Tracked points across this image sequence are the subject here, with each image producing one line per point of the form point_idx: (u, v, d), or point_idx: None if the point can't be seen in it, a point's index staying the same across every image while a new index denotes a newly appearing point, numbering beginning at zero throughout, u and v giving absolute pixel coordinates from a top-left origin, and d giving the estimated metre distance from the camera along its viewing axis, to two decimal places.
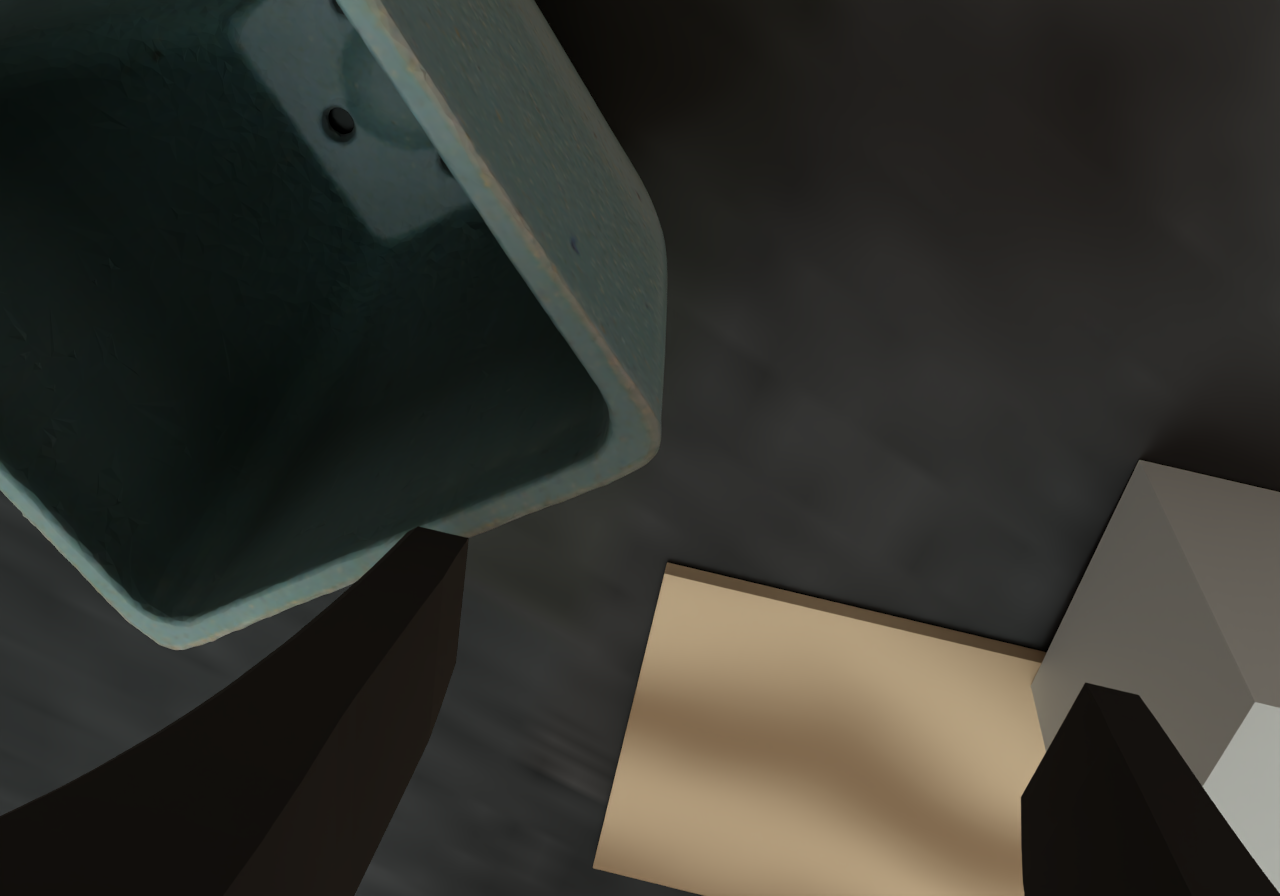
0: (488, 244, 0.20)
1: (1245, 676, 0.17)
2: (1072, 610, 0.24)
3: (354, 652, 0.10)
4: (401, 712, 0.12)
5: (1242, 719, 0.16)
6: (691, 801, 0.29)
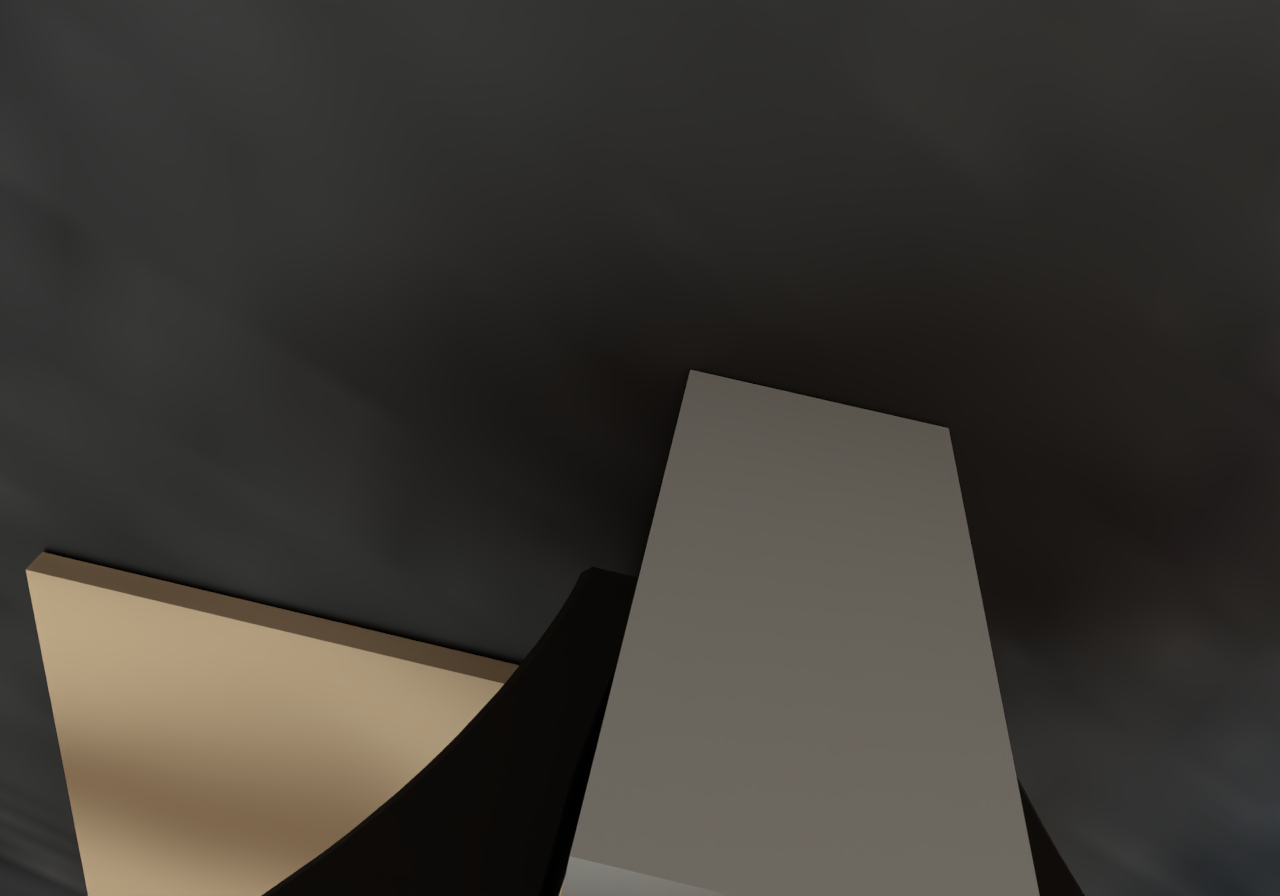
0: None
1: (592, 788, 0.07)
2: None
3: (568, 703, 0.10)
4: (593, 758, 0.12)
5: (562, 892, 0.07)
6: None
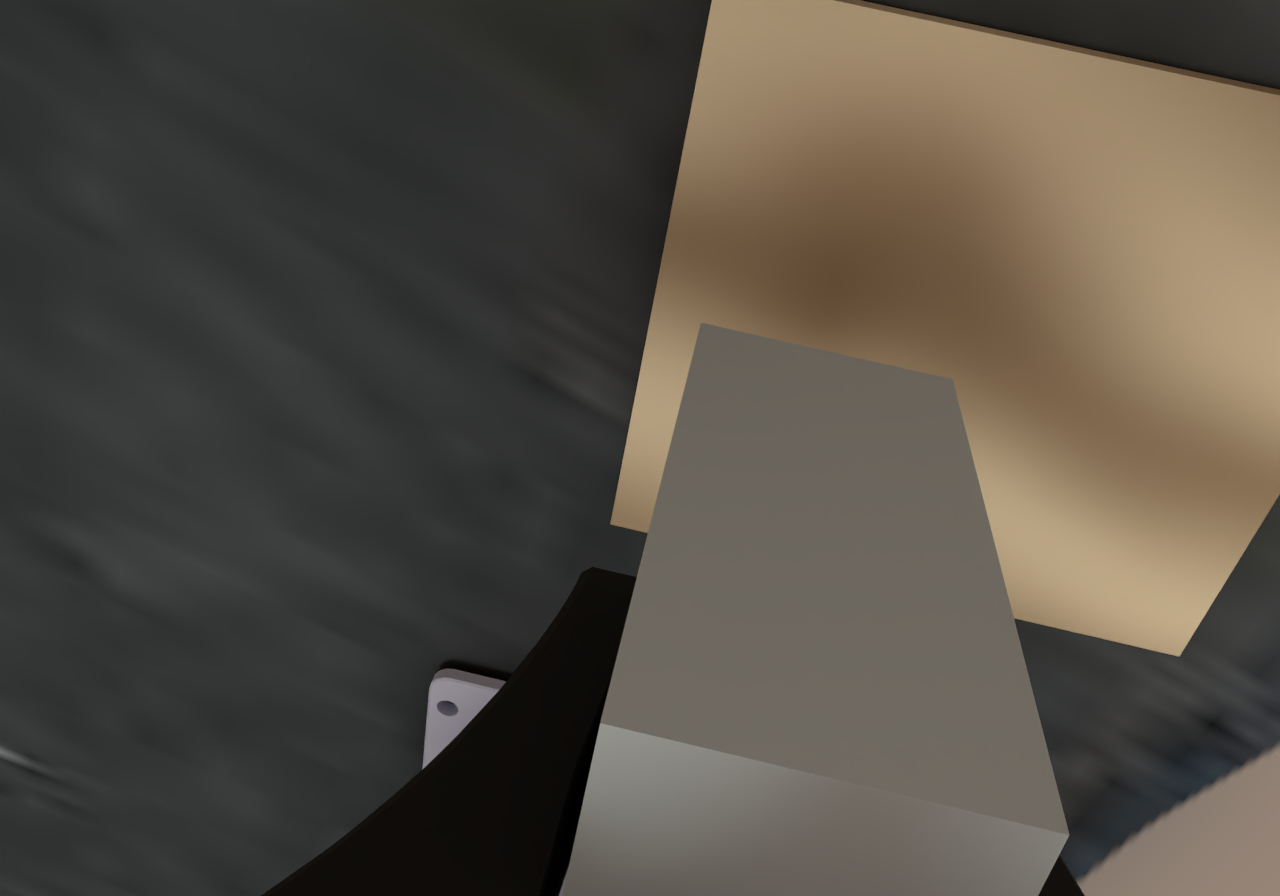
0: None
1: (620, 668, 0.08)
2: None
3: (568, 703, 0.10)
4: None
5: (592, 763, 0.07)
6: None
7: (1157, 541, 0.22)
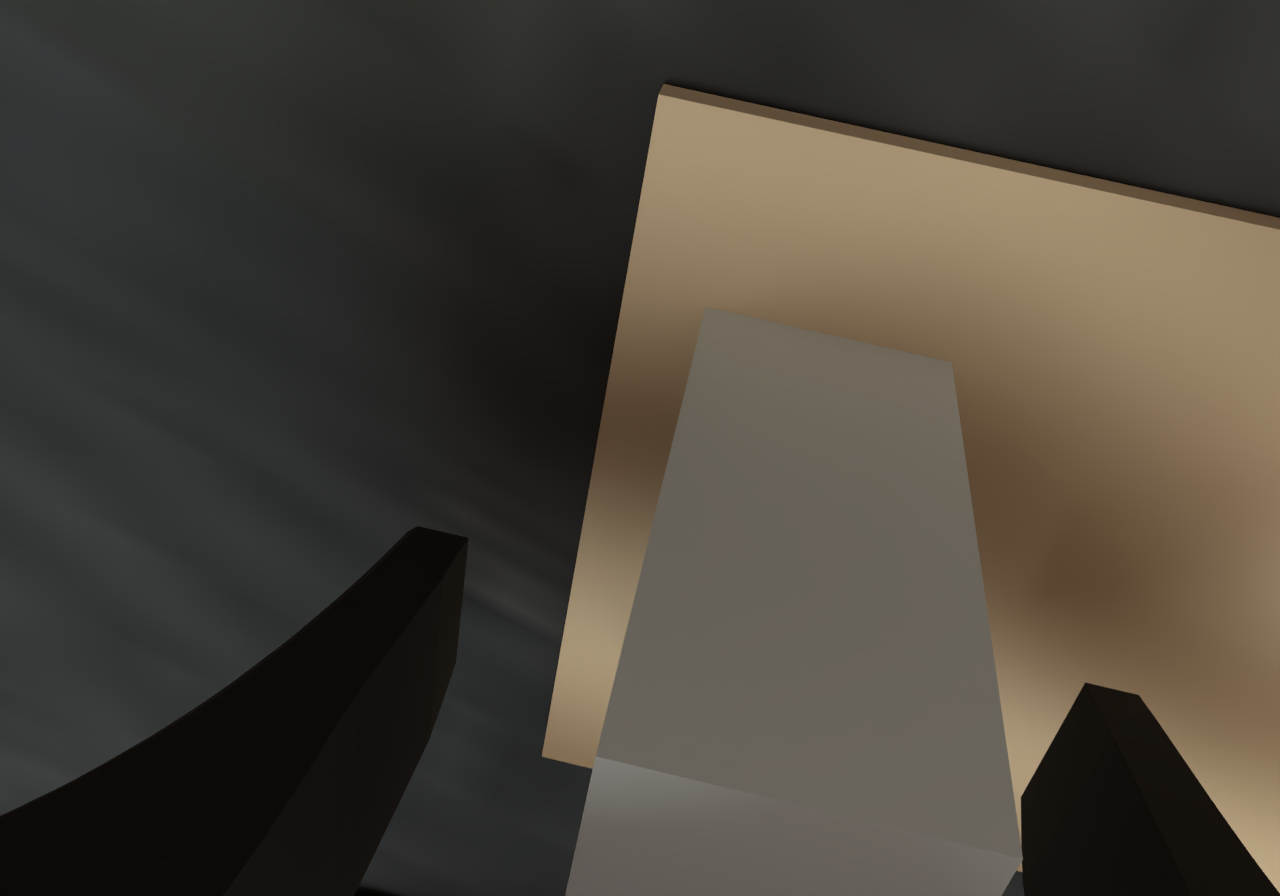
0: None
1: (615, 697, 0.08)
2: None
3: (354, 652, 0.10)
4: (401, 712, 0.12)
5: None
6: None
7: (1251, 805, 0.17)
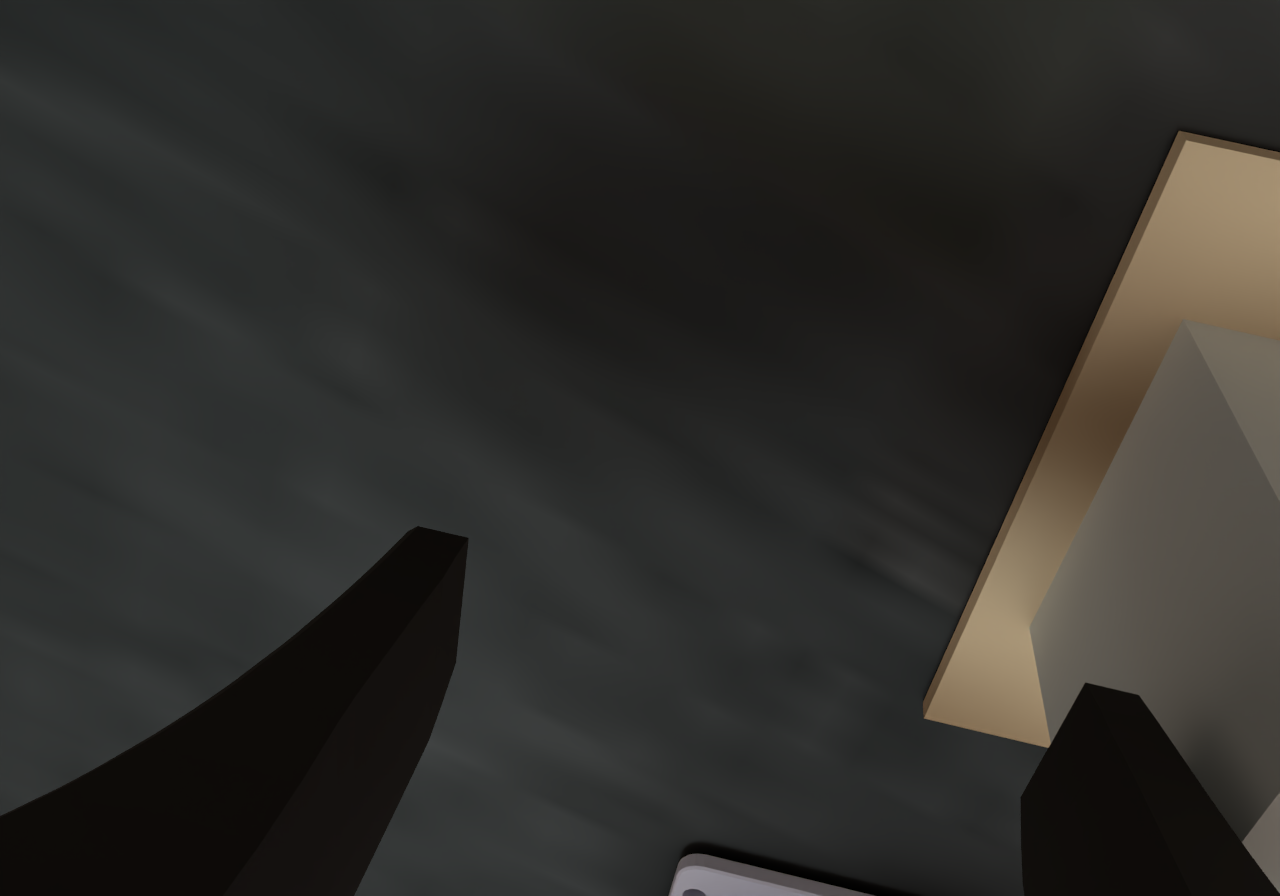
0: None
1: None
2: (1085, 529, 0.18)
3: (354, 652, 0.10)
4: (401, 712, 0.12)
5: None
6: None
7: None
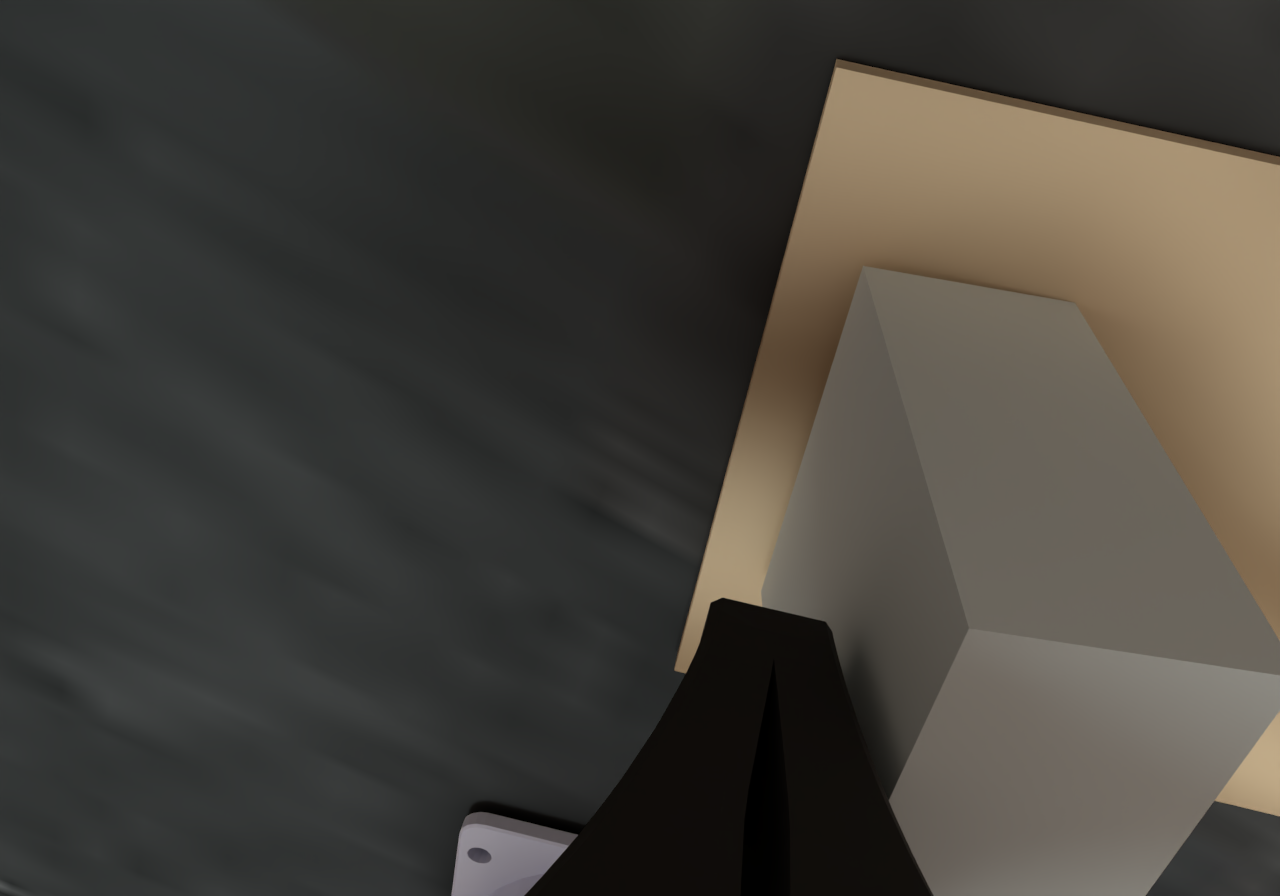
0: None
1: (960, 584, 0.10)
2: (797, 487, 0.17)
3: (727, 741, 0.10)
4: None
5: (953, 657, 0.10)
6: None
7: None
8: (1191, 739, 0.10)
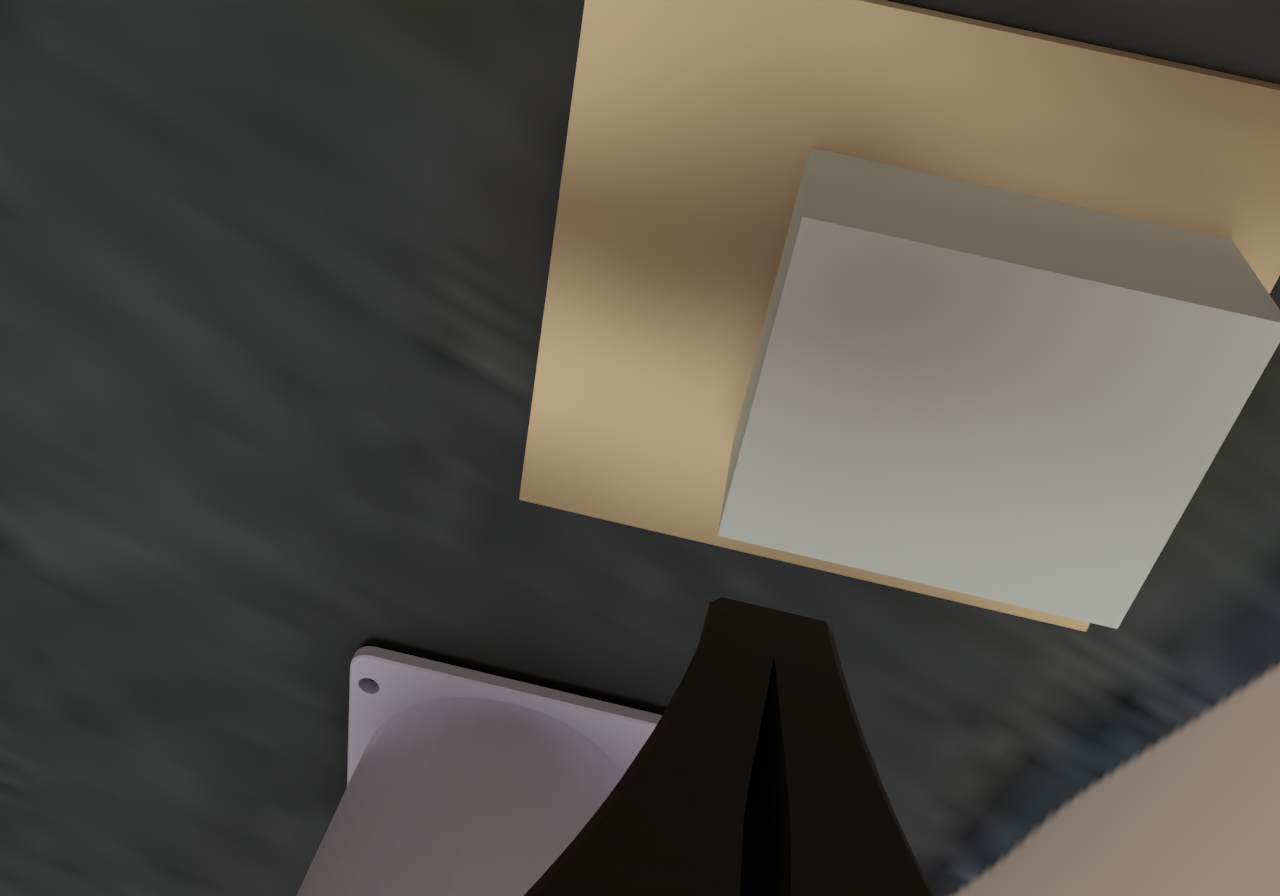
0: None
1: (1249, 314, 0.16)
2: (761, 427, 0.18)
3: (726, 741, 0.10)
4: None
5: (1274, 346, 0.16)
6: (644, 371, 0.22)
7: None
8: None
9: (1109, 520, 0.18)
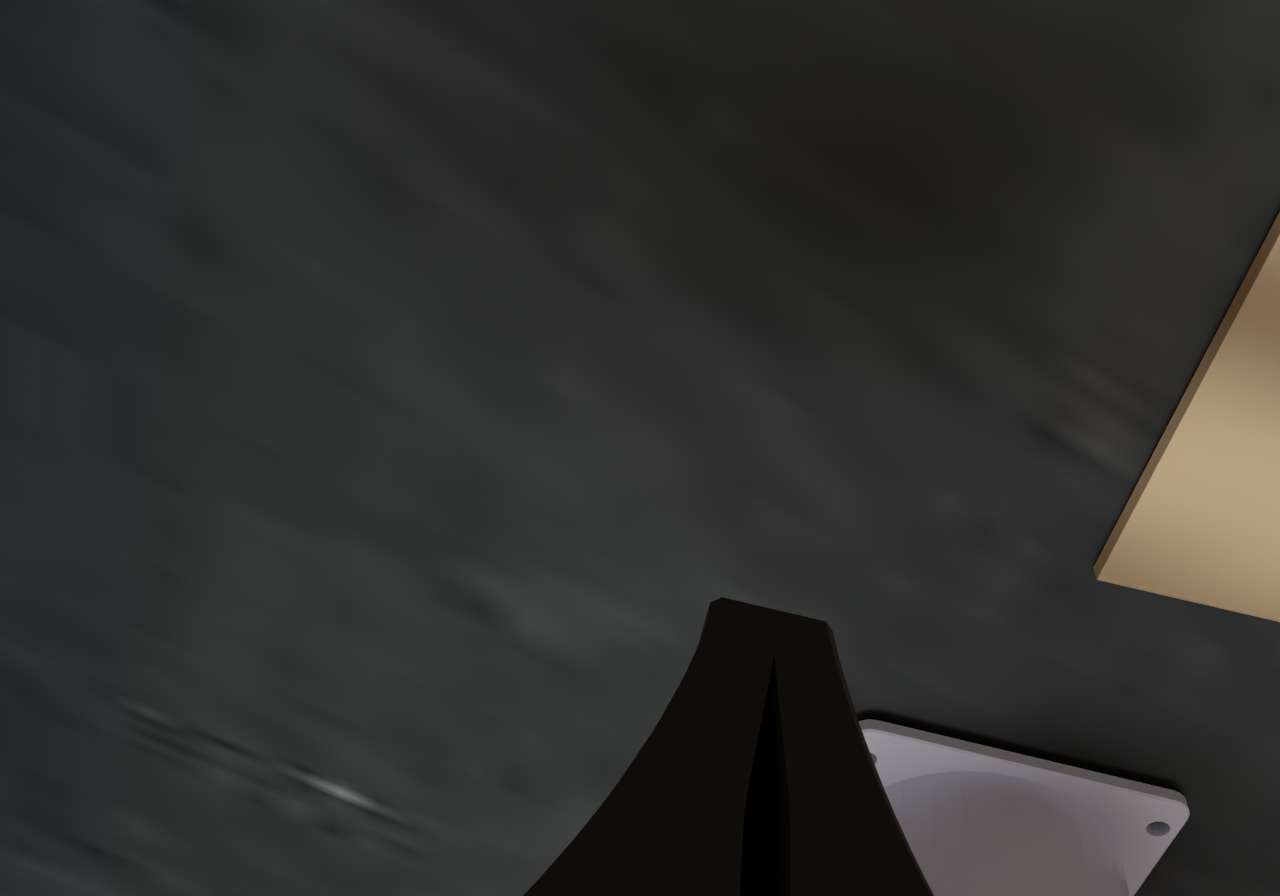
0: None
1: None
2: None
3: (727, 741, 0.10)
4: None
5: None
6: None
7: None
8: None
9: None
